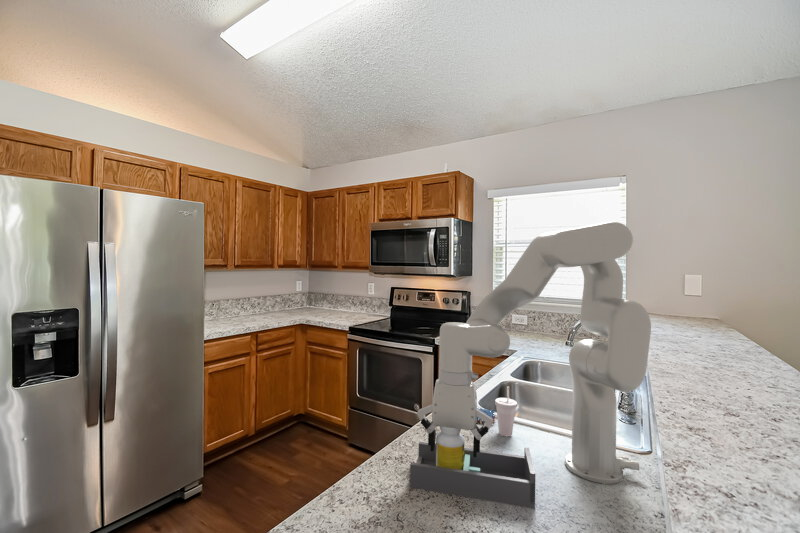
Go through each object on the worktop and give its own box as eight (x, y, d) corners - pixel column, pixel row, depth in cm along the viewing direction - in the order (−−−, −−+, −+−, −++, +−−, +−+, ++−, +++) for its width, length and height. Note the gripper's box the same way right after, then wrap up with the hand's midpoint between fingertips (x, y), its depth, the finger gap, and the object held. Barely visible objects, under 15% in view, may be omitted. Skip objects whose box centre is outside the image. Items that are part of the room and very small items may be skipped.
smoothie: (519, 439, 102) (520, 390, 102) (497, 438, 102) (498, 390, 102) (512, 429, 108) (513, 383, 108) (492, 428, 108) (492, 383, 109)
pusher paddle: (480, 468, 83) (480, 455, 84) (479, 489, 76) (479, 475, 76) (464, 466, 84) (465, 453, 84) (462, 486, 76) (462, 472, 76)
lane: (528, 478, 82) (528, 448, 82) (534, 508, 72) (535, 474, 72) (419, 461, 88) (419, 433, 88) (409, 487, 78) (410, 455, 78)
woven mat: (494, 428, 110) (494, 421, 110) (460, 423, 113) (460, 416, 113) (495, 415, 120) (495, 409, 120) (464, 411, 123) (464, 405, 123)
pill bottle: (463, 485, 77) (464, 431, 78) (433, 480, 79) (434, 428, 79) (464, 469, 84) (465, 419, 84) (437, 465, 85) (438, 417, 85)
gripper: (493, 375, 83) (492, 448, 83) (421, 369, 87) (419, 439, 87) (494, 385, 76) (492, 465, 75) (415, 377, 80) (413, 454, 79)
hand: (453, 451), depth 81 cm, fingers open, 9 cm apart
